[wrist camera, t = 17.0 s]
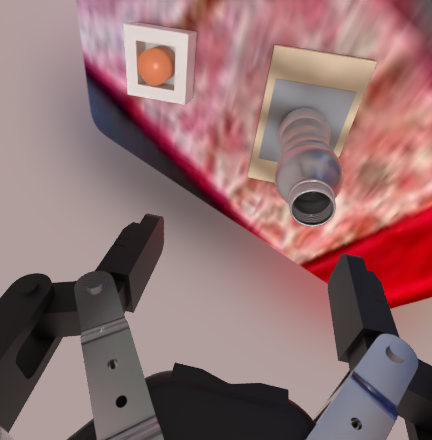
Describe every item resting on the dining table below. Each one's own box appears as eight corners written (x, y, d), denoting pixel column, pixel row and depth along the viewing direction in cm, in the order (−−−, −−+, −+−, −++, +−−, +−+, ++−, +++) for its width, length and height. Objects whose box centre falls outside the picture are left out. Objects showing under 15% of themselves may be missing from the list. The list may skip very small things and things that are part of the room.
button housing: (137, 22, 38) (123, 23, 35) (197, 31, 37) (188, 34, 34) (139, 87, 43) (127, 94, 40) (192, 97, 42) (184, 104, 39)
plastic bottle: (297, 160, 43) (302, 251, 27) (268, 124, 41) (255, 201, 25) (338, 132, 39) (372, 217, 24) (308, 91, 37) (324, 155, 21)
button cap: (149, 43, 38) (136, 46, 35) (178, 48, 38) (168, 51, 35) (149, 76, 41) (138, 82, 38) (177, 81, 40) (168, 87, 37)
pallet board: (275, 44, 36) (274, 45, 35) (374, 59, 35) (377, 62, 34) (248, 172, 47) (247, 177, 46) (323, 187, 46) (324, 193, 45)
